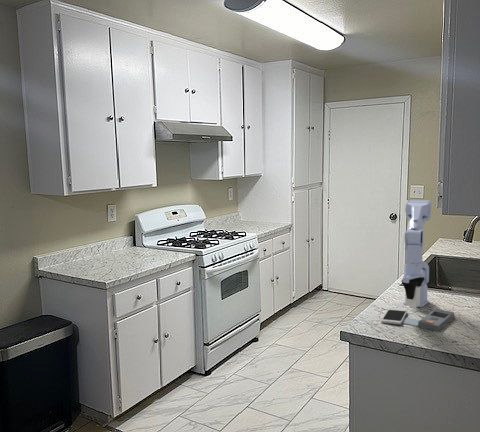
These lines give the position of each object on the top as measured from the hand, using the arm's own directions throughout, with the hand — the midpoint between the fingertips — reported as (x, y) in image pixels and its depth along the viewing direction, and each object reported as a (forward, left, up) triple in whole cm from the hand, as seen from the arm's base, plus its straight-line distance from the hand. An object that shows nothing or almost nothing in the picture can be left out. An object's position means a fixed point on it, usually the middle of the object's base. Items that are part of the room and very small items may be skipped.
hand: (412, 297), depth 168 cm
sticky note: (0, 0, -10) cm, 10 cm away
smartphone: (-1, -7, -10) cm, 12 cm away
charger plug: (0, 0, -3) cm, 3 cm away
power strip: (-6, +7, -10) cm, 13 cm away
